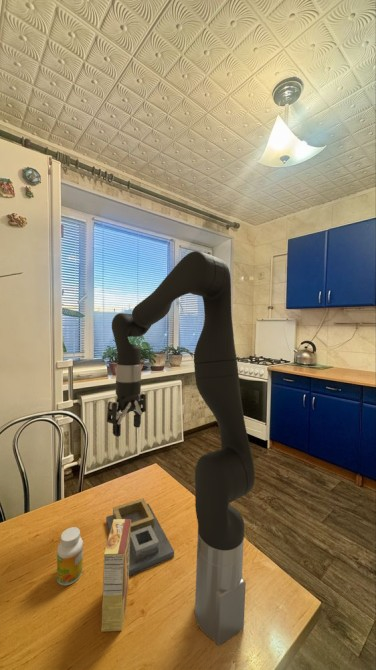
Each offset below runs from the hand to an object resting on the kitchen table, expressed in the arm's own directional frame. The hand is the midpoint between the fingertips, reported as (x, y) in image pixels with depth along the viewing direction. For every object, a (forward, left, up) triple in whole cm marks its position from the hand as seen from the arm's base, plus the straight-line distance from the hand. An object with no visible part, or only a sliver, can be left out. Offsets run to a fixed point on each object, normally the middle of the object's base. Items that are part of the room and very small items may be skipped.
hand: (127, 431), depth 78 cm
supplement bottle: (-14, +17, -26) cm, 34 cm away
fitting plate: (-11, 0, -25) cm, 28 cm away
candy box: (-26, +9, -26) cm, 37 cm away
